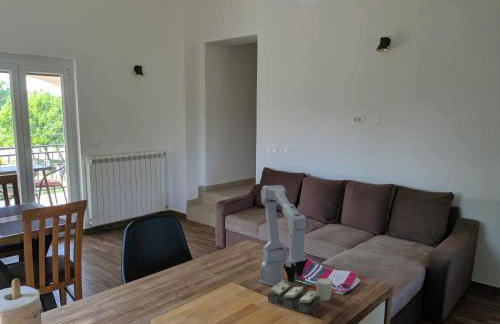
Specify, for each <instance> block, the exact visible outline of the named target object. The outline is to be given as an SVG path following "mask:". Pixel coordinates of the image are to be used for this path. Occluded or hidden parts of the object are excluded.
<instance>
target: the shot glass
mask: <svg viewBox="0 0 500 324" xmlns="http://www.w3.org/2000/svg"><path fill="white" fill-rule="evenodd" d="M315 283H316V284H315V285H316V289H315V291H318V296H320V301H324V302H325V301H329V300H331V296H332V290H333V283H334V281H333V280H331V279H329V278H326V277H325V278H321V277H320V278H317V279H316V280H315Z"/></svg>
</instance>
